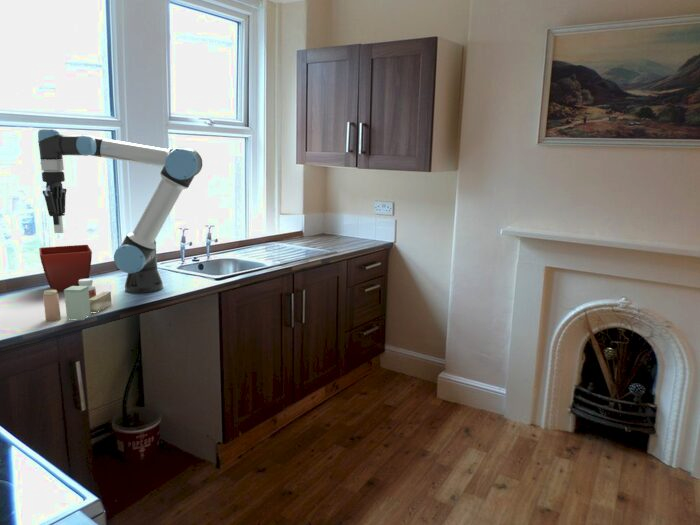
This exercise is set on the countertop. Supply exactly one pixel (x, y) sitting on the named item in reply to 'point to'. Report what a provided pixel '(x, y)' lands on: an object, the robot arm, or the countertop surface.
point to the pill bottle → (91, 287)
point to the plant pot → (65, 265)
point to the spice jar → (51, 305)
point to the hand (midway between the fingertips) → (59, 232)
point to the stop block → (100, 301)
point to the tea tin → (77, 302)
